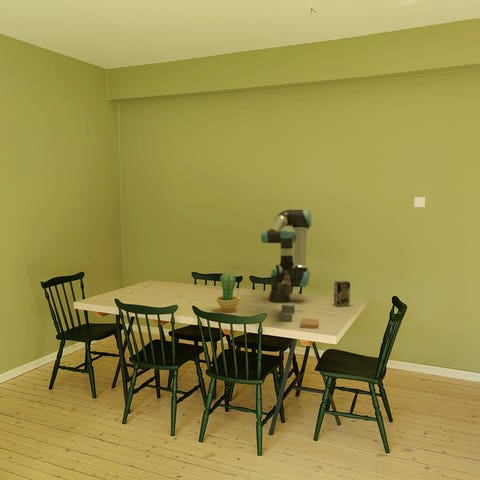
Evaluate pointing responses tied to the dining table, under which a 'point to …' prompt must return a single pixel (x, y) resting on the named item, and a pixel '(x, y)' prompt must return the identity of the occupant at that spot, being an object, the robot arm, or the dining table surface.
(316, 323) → the green rectangular panel
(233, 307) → the potted cactus
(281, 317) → the tool rack
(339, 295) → the coffee box
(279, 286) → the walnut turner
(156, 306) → the dining table surface
